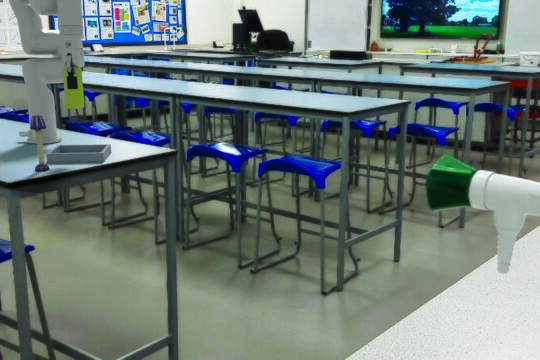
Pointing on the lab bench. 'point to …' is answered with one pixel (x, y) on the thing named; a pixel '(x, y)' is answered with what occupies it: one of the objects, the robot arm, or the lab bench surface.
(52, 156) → the tray
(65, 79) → the soap dispenser
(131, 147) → the lab bench surface
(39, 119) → the toy lamp
